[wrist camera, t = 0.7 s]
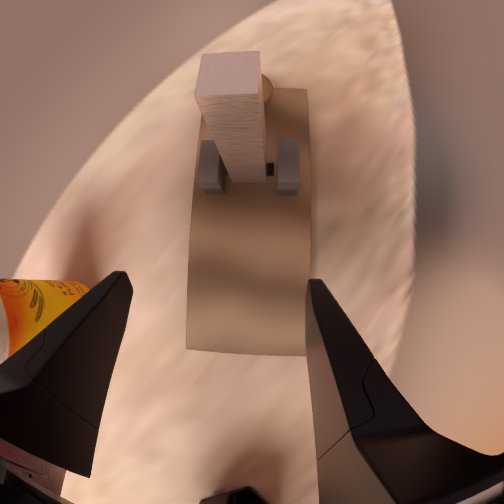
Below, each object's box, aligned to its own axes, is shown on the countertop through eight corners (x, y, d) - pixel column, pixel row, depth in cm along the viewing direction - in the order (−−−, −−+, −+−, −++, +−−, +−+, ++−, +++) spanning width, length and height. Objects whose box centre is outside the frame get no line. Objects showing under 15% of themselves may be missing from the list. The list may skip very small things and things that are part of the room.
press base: (303, 351, 22) (311, 368, 17) (191, 344, 23) (172, 359, 18) (304, 98, 24) (309, 66, 19) (208, 99, 25) (197, 68, 20)
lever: (273, 187, 21) (271, 93, 10) (227, 186, 21) (181, 97, 10) (274, 157, 21) (271, 51, 10) (229, 157, 21) (190, 55, 10)
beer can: (100, 277, 24) (-38, 270, 9) (109, 344, 23) (-21, 386, 8) (55, 283, 24) (-68, 279, 9) (63, 343, 24) (-55, 371, 9)
